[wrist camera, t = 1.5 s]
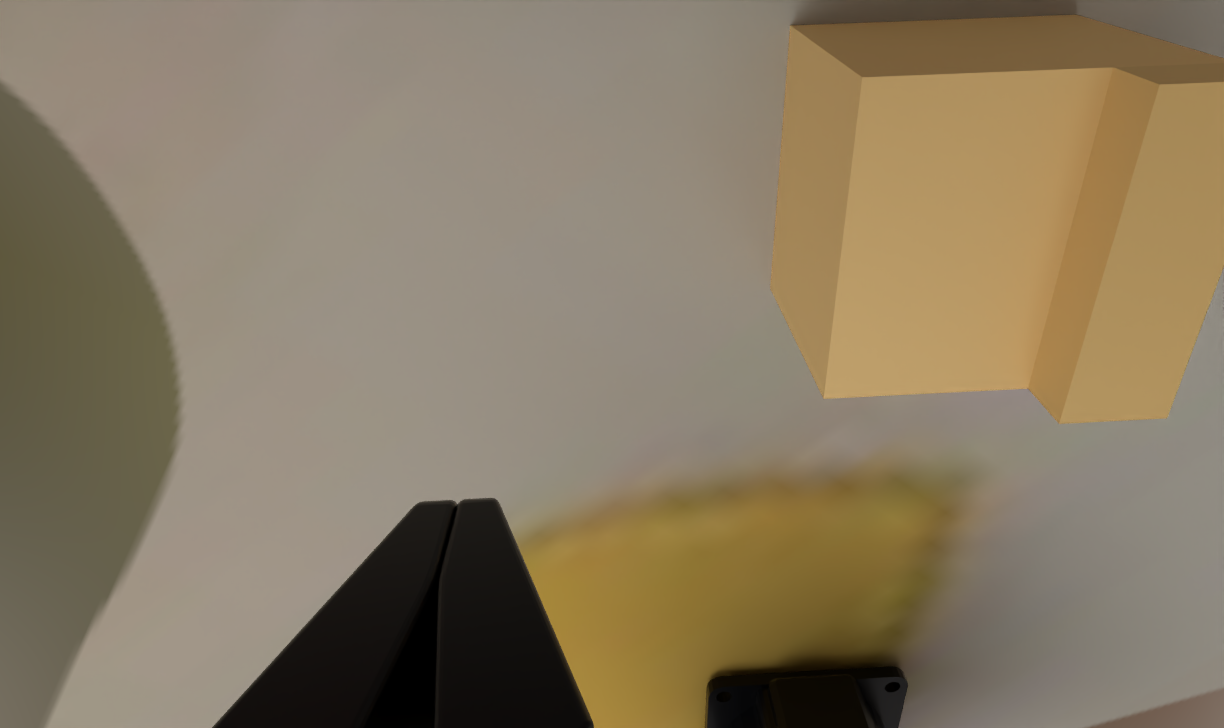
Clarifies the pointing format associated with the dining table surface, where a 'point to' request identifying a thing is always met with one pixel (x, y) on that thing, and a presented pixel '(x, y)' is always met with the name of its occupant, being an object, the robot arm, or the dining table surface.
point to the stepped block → (1000, 210)
